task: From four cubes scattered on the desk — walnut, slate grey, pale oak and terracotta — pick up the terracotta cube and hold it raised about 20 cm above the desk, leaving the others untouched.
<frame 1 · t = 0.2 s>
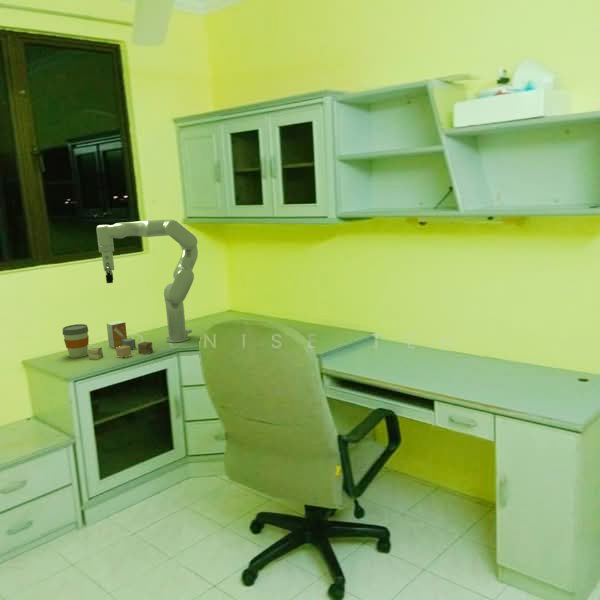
hand: (110, 281, 312), 37 cm above the worktop, tool pointing down, fingers open, 9 cm apart
small box: (118, 346, 325), on the worktop
pale oak cube: (96, 357, 305), on the worktop
walnut cube: (145, 352, 310), on the worktop
reusable coffee cup: (78, 355, 312), on the worktop
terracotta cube: (124, 356, 305), on the worktop
slate grey cube: (129, 348, 319), on the worktop
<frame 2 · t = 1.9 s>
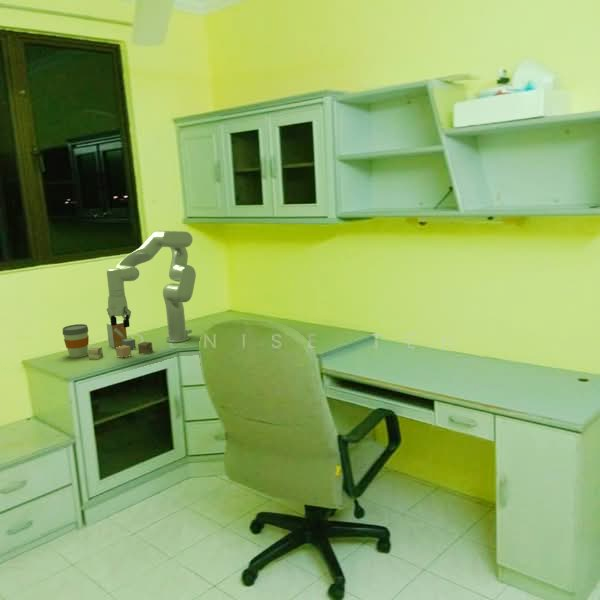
hand: (120, 326, 302), 16 cm above the worktop, tool pointing down, fingers open, 9 cm apart
nothing on the worktop moved.
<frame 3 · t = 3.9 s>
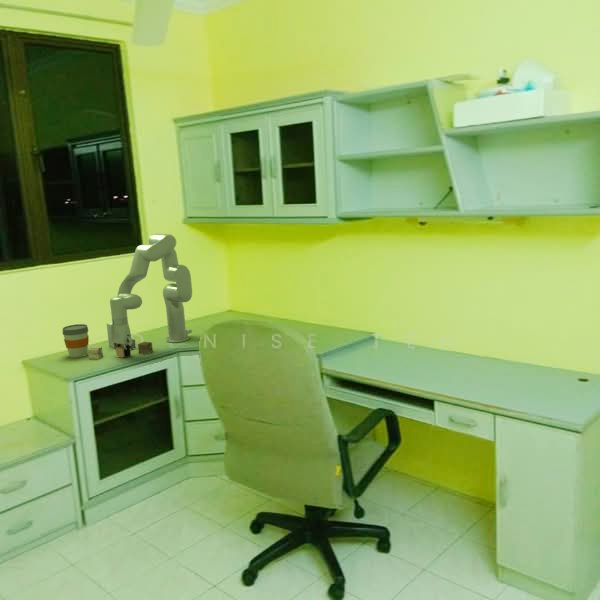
hand: (123, 355, 305), 0 cm above the worktop, tool pointing down, fingers closed on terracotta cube, 5 cm apart
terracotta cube: (124, 356, 305), on the worktop, touching gripper
everything else where it was.
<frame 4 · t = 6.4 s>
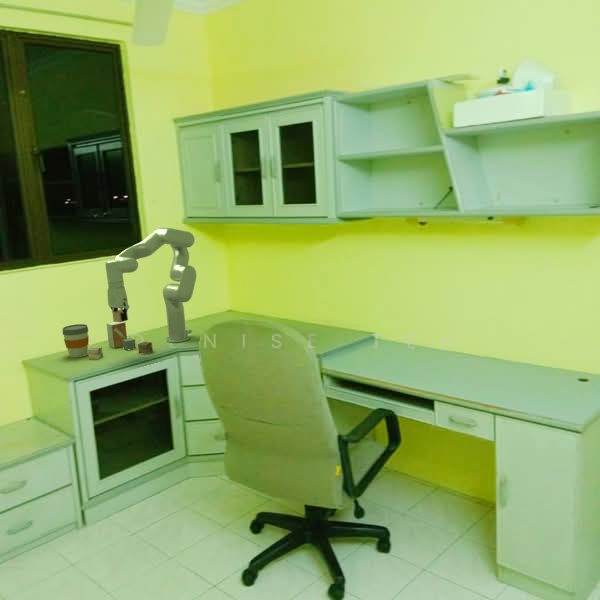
hand: (120, 319, 302), 19 cm above the worktop, tool pointing down, fingers closed on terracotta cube, 5 cm apart
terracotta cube: (120, 320, 302), point 19 cm above the worktop, touching gripper
everything else where it was.
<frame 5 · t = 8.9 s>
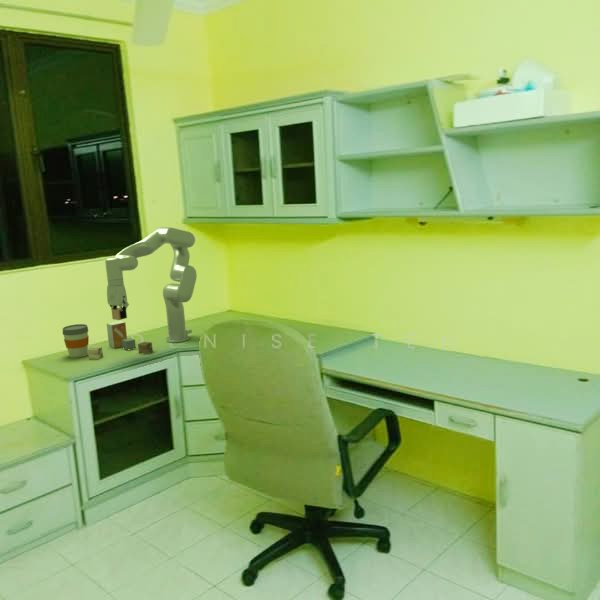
hand: (119, 317, 301), 20 cm above the worktop, tool pointing down, fingers closed on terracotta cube, 5 cm apart
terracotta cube: (119, 318, 301), point 20 cm above the worktop, touching gripper
everything else where it was.
at the end: the gripper is holding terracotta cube; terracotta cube point 19.8 cm above the worktop; walnut cube moved 0.1 cm from its start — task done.
